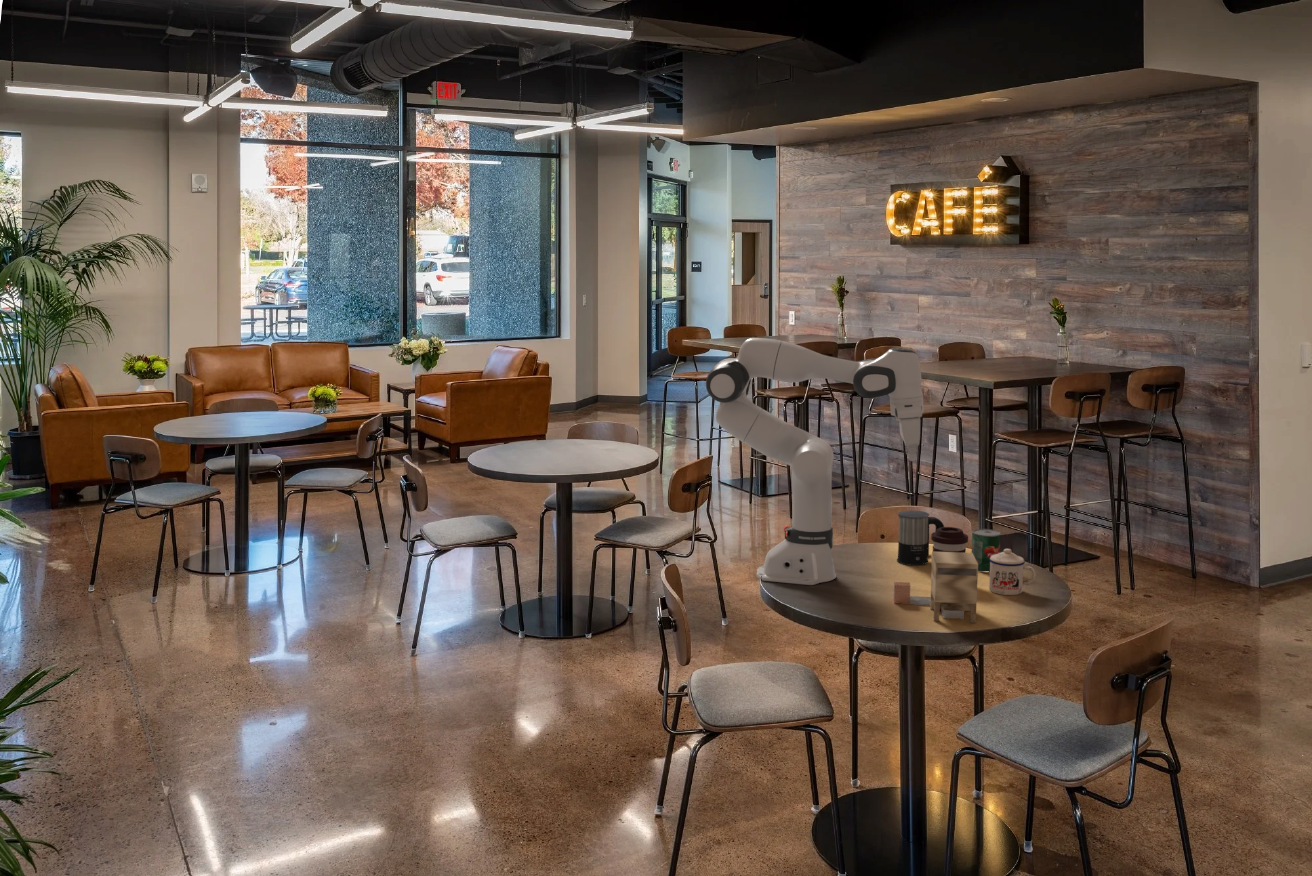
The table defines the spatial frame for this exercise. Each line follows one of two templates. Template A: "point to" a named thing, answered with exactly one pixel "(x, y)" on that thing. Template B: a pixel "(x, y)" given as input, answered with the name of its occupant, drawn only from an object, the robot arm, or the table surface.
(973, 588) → the cabinet
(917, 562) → the milk frother
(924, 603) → the blade tool
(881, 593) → the table surface
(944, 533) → the coffee cup
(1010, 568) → the teacup with lid
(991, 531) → the canned tomato
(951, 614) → the block
